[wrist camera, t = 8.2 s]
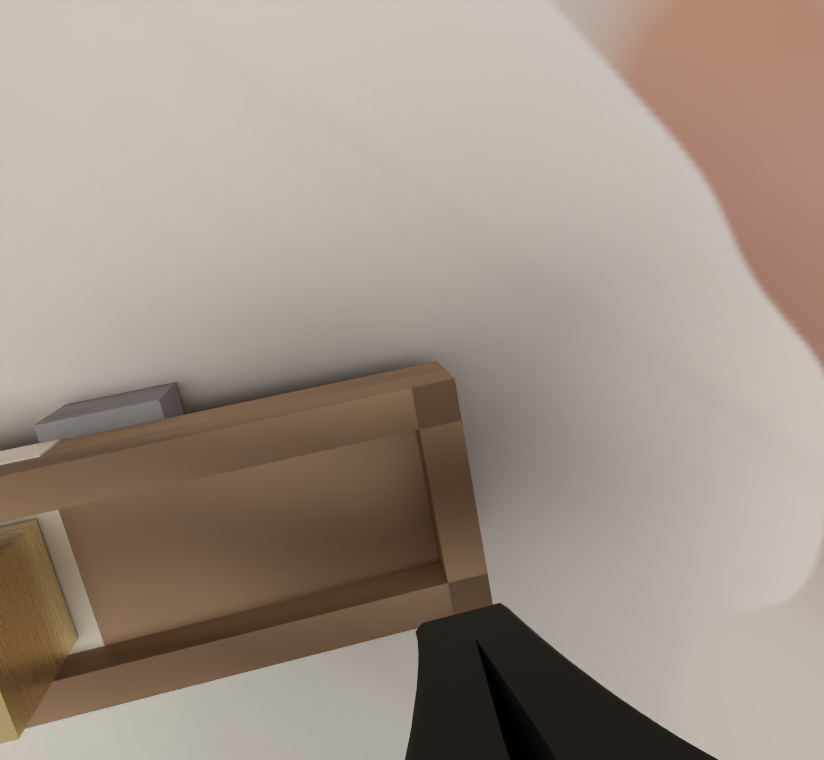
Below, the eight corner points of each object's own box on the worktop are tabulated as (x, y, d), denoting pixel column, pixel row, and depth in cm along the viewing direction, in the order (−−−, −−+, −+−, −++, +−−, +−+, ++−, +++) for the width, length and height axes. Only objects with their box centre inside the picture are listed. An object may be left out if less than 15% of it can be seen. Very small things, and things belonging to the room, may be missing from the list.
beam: (458, 548, 20) (496, 626, 16) (-113, 688, 18) (-235, 815, 14) (420, 332, 18) (450, 357, 14) (-212, 461, 17) (-382, 532, 13)
